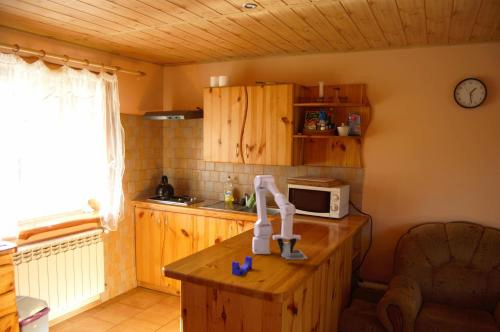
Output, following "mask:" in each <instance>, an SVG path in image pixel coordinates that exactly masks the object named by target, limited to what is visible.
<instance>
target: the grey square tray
mask: <svg viewBox="0 0 500 332" xmlns="http://www.w3.org/2000/svg"><path fill="white" fill-rule="evenodd" d="M284 259H285V260H286V261H291V260H293V261H294V260H295V261H297V260H303V261H304V259H307V260H309V258H308V257H307V256H306V254H304V252H303V251H302V250H300V249H293V250H292V253H290V257H289V258H284Z"/></svg>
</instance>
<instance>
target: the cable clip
mask: <svg viewBox="0 0 500 332" xmlns="http://www.w3.org/2000/svg"><path fill="white" fill-rule="evenodd" d="M249 270H253V257H252V256H249V255H247V256H245V259H244V263H243V264H242V265H241V266H240V262H238V261H234V260H233V261H232V262H231V274H232V275H234V276H239V277H240V276H242V275H244V274H245V275H246V274H247V273H248V271H249Z"/></svg>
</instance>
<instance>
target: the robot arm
mask: <svg viewBox="0 0 500 332" xmlns="http://www.w3.org/2000/svg"><path fill="white" fill-rule="evenodd" d="M275 181H276V180H275V178H274V176H273V175H272V174H268V175H267V174H266V175H256V176H255V178H254V179H253V183H254V184H253V185H254V190H255V200H256V214H257V220H256V221H255V222H254V223H253V224H254V226H253V235H254V236H253V237H252V243H251V245H252V246H251V248H252V250H251V251H252V253H253V254H254V255H271V252H270V237H271V236H272V240H273V241H274V240H275V241H276V242H277V244H278V247H279V252H280V254H282V252H283V250H282V247H283V242H284V241H283V240H289V243H291V248H290V253H292V250H294V247H295V245H296V244H297V242H298V241H297V240H301V235H300V234H293V225H294V224H293V223H294V215H295V214H296V211H297V210H296V207H295V205H294V204H293V203H291V202H290V201H289V200H288V199H287V198H286V195H284V194H283V193H281V192H280V190H279V189H278V187H277V186H276V182H275ZM267 190H269V192H270V193H271V194H272V196H273V197H274V202H275V203H276V205H277V206H278V208H279V213H280V218H281V231H280V233H281V234H275V235H274V234H273V233H274V232H273V226H272V222H271V221H270V220H268V214H267V212H268V211H267V201H266V191H267ZM272 234H273V235H272Z"/></svg>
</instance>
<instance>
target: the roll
mask: <svg viewBox="0 0 500 332" xmlns="http://www.w3.org/2000/svg"><path fill="white" fill-rule="evenodd" d="M290 248H291V243H290V242H287V241H285V242H284V241H283V247H282V250H283V252H282V253H281V258H284V259H285V258H289V257H290Z"/></svg>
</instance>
